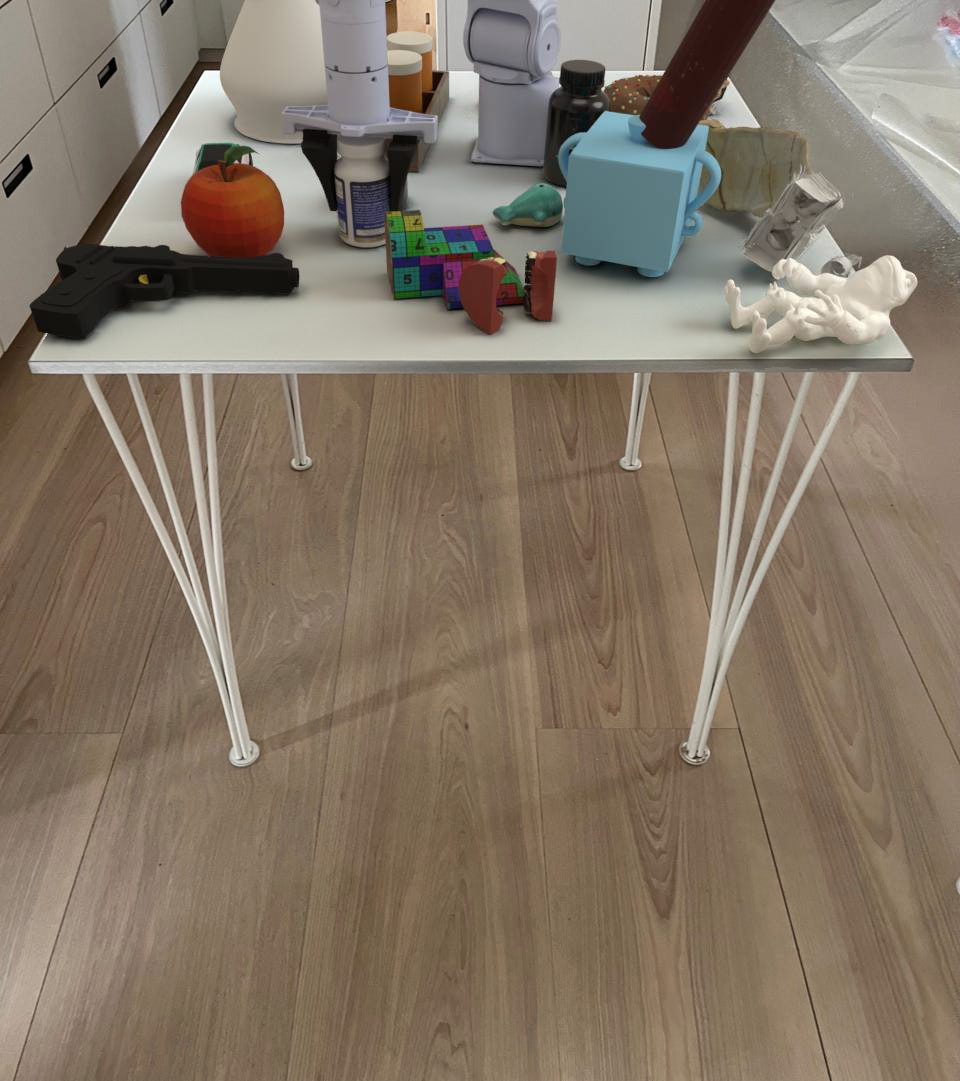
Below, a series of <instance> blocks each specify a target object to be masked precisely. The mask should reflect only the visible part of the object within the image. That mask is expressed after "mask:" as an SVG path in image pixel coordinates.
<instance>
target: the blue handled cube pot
mask: <svg viewBox="0 0 960 1081" xmlns="http://www.w3.org/2000/svg"><path fill="white" fill-rule="evenodd" d="M639 117H640V115H629V114H622V113H614V112H608V111H605V112H604V113H603V114H602V115H601V116H600V117H599V118H598V120H597V121H596V122H595V123H594V124H593V126H592V127H591V128H590V129H589V131H588V132H587V133H586V132H585V133H577V134H575V135H573V136H571V137H570V138H568V139H567V140H566V141H565V142H564V143H563V145H562V146H561V148H560V150H559V154H558V162H559V166H560V169H561V172H562V174H563V176H564V178H565V180H566V182H567V187H565V188H566V189H565V197H564V199H563V211H564V214H563V224H562V225H563V226H562V237H561V247H560V248H561V249H560V253H561V254H565V255H568V256H569V255H570V256H575V258H574V259H575V262H576V263H578V264H580V265H584V266H596V265H599V264H600V263H602V261H603V262H608V263H614V264H619V265H624V266H631V267H637V272H638V273H639V274H640V275H642V276H643V277H648V278H657V277H661V276H663V275H664V274H665V273H669V271H670V269H671V266H672V265H673V263H674V261H675V259H676V257H677V255H678V252H679V251H680V248H681V246H682V244H683V242H684V240H685V238H686V237H695V236H696V235H698V234H699V233H700V232H701V230H702V228H703V225H704V219H703V216H702V215H701V214H699V213H698V212H696V211H698V209H700V208H701V207H702V206H704V203H705V202H706V201H707V200H708V199H709V198H710V197H711V196H712V195H713V193H714V192H715V191H716V189H717V188H718V186H719V183H720V180H721V169H720V166H719V164H718V162H717V160H716V159H715V158H714V157H713V156H712V155H711V154H710V153H708V152H707V151H705V149H706V143H707V137H708V132H709V127H708V126H706V125H697V127H696V128H695V130H694V132H693V133H692V135H691V136H690V138H689V140H688V141H687V143H686V144H685V145H684V146H682V147H679V148H673V149H660V148H658V147H656V146H654V145H652V144H651V143H650V142H648V141H647V140H646V139H645V138H644V137H643V136H642V135H641V132H643V131H644V129H645V128H646V126H645V124H644V123H643V122H641V120H640V119H639ZM575 145H577V146H576V147H575V148H574V150H573V151H572V153H571V154H570V155H569V150H570V148H571V147H573V146H575ZM703 164H704V165H705V166H706V167H707V168H708V169H709V171H710V172H711V180H710V182H709V183H708V185H707V186H706V188H705V189H704V190H703V191H702V192H701V193H700V194H699V195H698V196H697V194H698V188H699V182H700V177H701V171H702V166H703ZM693 221H694V225H692V223H693Z"/></svg>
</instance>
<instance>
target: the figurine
mask: <svg viewBox="0 0 960 1081" xmlns="http://www.w3.org/2000/svg"><path fill="white" fill-rule="evenodd" d="M796 261H797V260H795V259H792V258H789V259H788V260H785V259H782V260H780V261H779V262H778V263H777V264H776V265H774V267H773V270H772V272H771V275H772V277H773V278H774V279H775V281H773V283H771V282H769V289H768V290H767V291H766V292H765V296H764V297H762V298H760V299H758V300H757V301H755V302H753V303H752V304H750V305H749V306H747V307H746V306H743V304H742V302H741V301H742V300H741V287H739V286H736V285H735V281H734V280H733V279H728V280H727V282H726V285H725V286H724V287H723V290H722V291H723V294H724V299H725V301H726V303H727V304H728V307H729V314H730V315H729V316H730V324H731V326H732V328H733V329H735V330H736V329H739V328H741V327H744V326H745V325H748V324H750V323H751V324H752V330H751V333H750V337H749V342H748V347H749V350H750V351H751V353H753V354H759V353H761V352H763V351H764V350H766V349H767V348H769V347H770V346H778V345H783V344H786V343H787V342H790V341H791V340H792V339H793V337H795V338H796V339H798V340H801V341H804V342H809V341H814V340H815V341H816V340H819V339H822V338H826V337H827V338H828V337H829V338H837V340H839V341H841V342H842V343H843V344H847V345H866V344H870V343H872V342H874V341H878V340H880V339H882V338H884V337H885V336H886V335H887V333H888V332H889V330H890V327H891V319H890V314H891V311H892V310H893V309H894V308H896V307H900V306H902V305H904V304H905V303H906V302H907V301H908V299H909V298H910V296H911V295H912V294H913V292H914V291H915V289H916V288H917V286H918V279H917V276H916V275H915V274H914V273H913V272H911V271H908V270H906V269H904V268H903V266H902V264H901V261H900V260H898V259H897V257H896V256H894V255H889V254H886V255H883V256H880V257H879V258H877V259H876V260H874V261H873V262H871V264H870V265H868V266H866V267H863V268H862V269H861V268H860V269H858V270H857V271H854V273H853V272H852V273H851V274H850V275H849V276H848V278H847V277H845V278H844V277H838V276H835V275H833V274H830V273H823V274H821V273H820V274H817V275H816V274H813V272H812V271H811V270H810V269H808V268H807V267H806V266H805V265H804V264H802V263H801V262H798V261H797V262H796ZM778 273H779V274H778ZM784 278H785V279H786V282H787V284H788V286H789V288H791V289H792V290H794V291H795V292H799V293H801V294H803V295H808V296H809V297H807V296H804V297H801V296H799V295H797V294H796V293H794V292H792V291H789V290H785V288H784V287H780V286H778V284H777V281H778V280H780V279H784ZM776 280H777V281H776ZM773 312H776V313H777V314H778V315H779V316H781V318H782V319H780V320H779V321H777V322H775V323H774V324H773V325H772V326H769V327H768V322H767V319H769V317H770V315H771V314H772V313H773Z"/></svg>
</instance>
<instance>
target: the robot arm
mask: <svg viewBox="0 0 960 1081" xmlns="http://www.w3.org/2000/svg"><path fill="white" fill-rule="evenodd" d="M315 1H316V3H317V4H318V5H319V6H320V17H321V29H322V41H323V53H324V64H325V74H326V86H327V98H328V105H320V106H287V107H286V108H285V109H284V111H283V112H282V113H281V115H282V123H283V132H284V134H295V133H296V132H303V141H302V143H300V150H301V152H302V154H303V155H304V157H305V158H306V159H307V162H308V163H309V164H310V166H311V167H312V169H313V171H314V172H315V175H316V177H317V179H318V181H319V183H320V185H321V188H322V191H323V193H324V196H325V198H326V202H327V205H328V209H329V211H330V212H338V211H337V199H336V188H335V177H334V166H335V164H336V162H337V161H338V148H337V138H338V137H337V135H342V136H351V137H361V136H369V137H384V138H393V140H392V142H391V143H390V145H389V147H388V149H387V156H388V163H389V170H390V179H391V212H394V211H401V209H402V200H403V193H404V187H405V183H406V179H407V180H408V176H409V172H408V171H409V168H410V165H411V162H412V159H413V157H414V154H415V151H416V149H417V146H418V144H419V142H420V140H424V142H425V143H431V144H435V143H436V142H437V138H438V135H439V134H438V133H439V132H438V128H439V125H438V116H437V115H427V114H420V113H415V112H410V111H405V110H400V109H395V108H390V103H389V79H388V58H387V51H388V49H387V36H388V35H387V16H386V15H387V13H386V0H315ZM558 17H559V16H558V0H467V11H466V19H465V23H464V27H463V32H462V44H463V49H464V53H465V56H466V58H467V60H468V61H469V62H470V64H471V63H472V65H473V73H475V74H478V115H477V116H478V121H477V122H478V123H477V125H478V126H477V131H478V132H477V138H476V141H475V144H474V148H473V150H472V153H471V157H470V162H473V163H482V164H500V165H515V166H530V167H543V164H544V151H545V138H546V126H547V114H548V103H549V98H550V96H551V94H552V93H553V92H554V91H555V90H556V89H558V88H559V87H560V84H559V77H558V76H554V77H552V76H547V75H548V73H549V72H550V71H551V72H552V70H553V69H554V67H555V66H556V64H557V61H558V59H559V56H560V52H561V51H560V50H561V45H562V32H561V27H560V24H559V18H558Z"/></svg>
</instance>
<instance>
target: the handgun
mask: <svg viewBox="0 0 960 1081" xmlns="http://www.w3.org/2000/svg"><path fill="white" fill-rule="evenodd" d="M55 263H56V266H57V269H58V273H59V276H60V279H61V281H59V282H57V283H56V284H54V285H53V286H51V287H50V288H49V289H47V290H45V291H44V292H43V293H41V294H40V295H39V296H37V297H36V298H35V299H34V300H32V301H31V303H30V304H29V309H30V311H31V316H32V317H33V321H34V324H35V327H36V330H37V332H38V333H42V334H48V335H52V336H59V337H66V338H73V339H74V338H76V339H86V338H87V337H88V336H90V335H91V333H92V332H93V331H94V330H95V328H97V326H98V325H99V323H100V322H101V321H102V320H103V319H104V318H105V317H106V316H107V315H108V314H109V313H111V312H112V311H113V310H114V309H116V308H118V307H119V306H123V305H127V304H128V303H130V302H132V301H135V302H163V301H168V300H170V299H171V297H172V296H173V295H180V294H181V293H182V294H191V293H194V292H196V291H197V292H227V293H228V292H230V293H252V294H253V293H254V294H255V293H256V294H282V295H283V294H285V295H286V294H288V295H290V294H292V293H293V292H294V290H295V288H299V286H300V269H299V267H294V266H293V259H290V258H287V257H285V256H284V254H282V252H281V253H280V252H272V253H268V254H266V255H264V256H258V257H247V258H246V257H221V256H210V255H199V254H188V253H181V252H179V251H176V250H172V249H171V248H170V246H169V245H167V244H158V245H156V246H150V245H149V246H148V245H142V246H135V245H131V246H117V245H116V246H115V245H105V244H95V243H80V244H76V245H72V246H69V247H68V246H64V247H63V250H62V251H61V252H60V253H59V254H58V256H57V257H56V259H55Z"/></svg>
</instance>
